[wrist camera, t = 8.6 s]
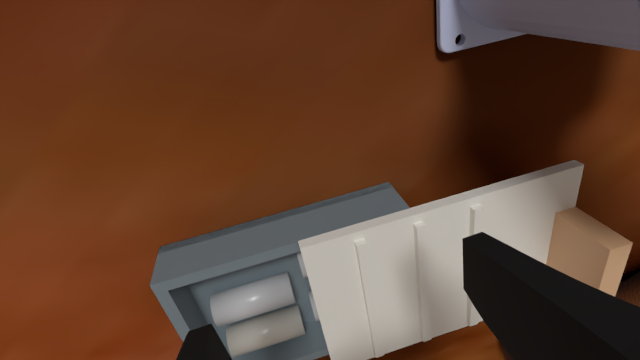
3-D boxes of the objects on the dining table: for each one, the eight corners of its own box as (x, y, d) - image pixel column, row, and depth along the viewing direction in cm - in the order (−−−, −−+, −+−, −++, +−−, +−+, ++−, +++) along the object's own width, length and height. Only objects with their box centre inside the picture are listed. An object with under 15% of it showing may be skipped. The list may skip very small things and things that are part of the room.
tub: (388, 182, 21) (410, 208, 18) (399, 291, 25) (418, 324, 23) (159, 246, 19) (149, 285, 17) (214, 350, 24) (213, 392, 21)
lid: (553, 149, 20) (648, 196, 15) (533, 274, 25) (601, 338, 20) (293, 224, 18) (314, 301, 14) (325, 342, 23) (349, 427, 19)
